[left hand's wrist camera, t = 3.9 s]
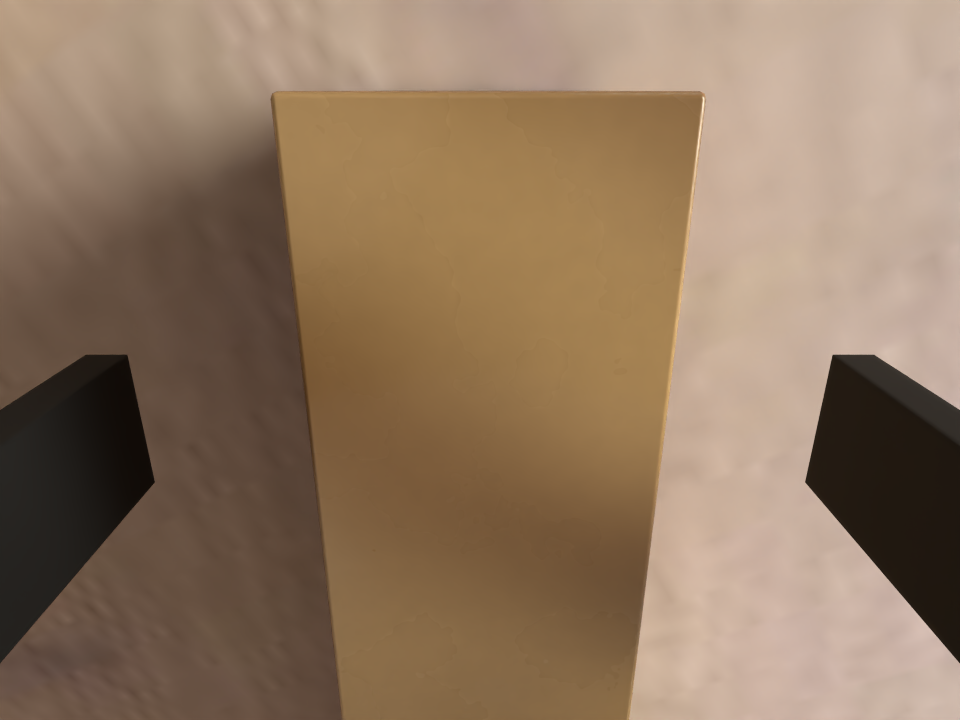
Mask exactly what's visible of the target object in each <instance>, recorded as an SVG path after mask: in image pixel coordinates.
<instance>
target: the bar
mask: <svg viewBox="0 0 960 720" xmlns="http://www.w3.org/2000/svg"><path fill="white" fill-rule="evenodd" d="M705 102H706V97H705V94H704V93H702V92H700V91H277V92H275V93H273V94H272V96H271V106H272V115H273V124H274V132H275V141H276V150H277V159H278V167H279V176H280V185H281V193H282V202H283V211H284V219H285V228H286V237H287V246H288V254H289V263H290V272H291V280H292V289H293V298H294V306H295V315H296V324H297V333H298V341H299V350H300V359H301V367H302V376H303V385H304V394H305V402H306V411H307V420H308V428H309V437H310V446H311V454H312V463H313V472H314V481H315V489H316V498H317V507H318V515H319V524H320V533H321V541H322V550H323V559H324V568H325V576H326V585H327V594H328V602H329V611H330V620H331V628H332V637H333V646H334V655H335V663H336V672H337V681H338V689H339V698H340V707H341V716H342V720H629V716H630V708H631V700H632V692H633V684H634V676H635V668H636V660H637V652H638V643H639V635H640V627H641V619H642V611H643V603H644V595H645V587H646V579H647V571H648V563H649V555H650V547H651V538H652V530H653V522H654V514H655V506H656V498H657V490H658V482H659V474H660V466H661V458H662V450H663V442H664V434H665V425H666V417H667V409H668V401H669V393H670V385H671V377H672V369H673V361H674V353H675V345H676V337H677V329H678V320H679V312H680V304H681V296H682V288H683V280H684V272H685V264H686V256H687V248H688V240H689V232H690V224H691V216H692V207H693V199H694V191H695V183H696V175H697V167H698V159H699V151H700V143H701V135H702V127H703V119H704V111H705Z"/></svg>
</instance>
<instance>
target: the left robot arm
mask: <svg viewBox="0 0 960 720" xmlns="http://www.w3.org/2000/svg"><path fill="white" fill-rule="evenodd" d="M154 483H155V481H154V476H153V472H152V467H151V462H150V458H149V453H148V448H147V444H146V439H145V435H144V430H143V425H142V421H141V416H140V411H139V407H138V402H137V398H136V393H135V388H134V384H133V379H132V374H131V370H130V365H129V361H128V356H127V355H85V356H84V357H82V358H80V359H79V360H77V361H76V362H74V363H73V364H71V365H70V366H68V367H66V368H65V369H63V370H62V371H60V372H59V373H57V374H56V375H54V376H52V377H51V378H49V379H48V380H46V381H45V382H43V383H42V384H40V385H38V386H37V387H35V388H34V389H32V390H31V391H29V392H28V393H26V394H24V395H23V396H21V397H20V398H18V399H17V400H15V401H14V402H12V403H10V404H9V405H7V406H6V407H4V408H3V409H1V410H0V663H1V662H2V660H3V659H4V658H5V657H6V656H7V655H8V653H9V652H10V651H11V650H12V649H13V648H14V646H15V645H16V644H17V643H18V642H19V641H20V639H21V638H22V637H23V636H24V635H25V634H26V632H27V631H28V630H29V629H30V628H31V627H32V625H33V624H34V623H35V622H36V621H37V620H38V618H39V617H40V616H41V615H42V614H43V612H44V611H45V610H46V609H47V608H48V607H49V605H50V604H51V603H52V602H53V601H54V600H55V598H56V597H57V596H58V595H59V594H60V593H61V591H62V590H63V589H64V588H65V587H66V586H67V584H68V583H69V582H70V581H71V580H72V579H73V577H74V576H75V575H76V574H77V573H78V571H79V570H80V569H81V568H82V567H83V566H84V564H85V563H86V562H87V561H88V560H89V559H90V557H91V556H92V555H93V554H94V553H95V552H96V550H97V549H98V548H99V547H100V546H101V545H102V543H103V542H104V541H105V540H106V539H107V538H108V536H109V535H110V534H111V533H112V532H113V531H114V529H115V528H116V527H117V526H118V525H119V523H120V522H121V521H122V520H123V519H124V518H125V516H126V515H127V514H128V513H129V512H130V511H131V509H132V508H133V507H134V506H135V505H136V504H137V502H138V501H139V500H140V499H141V498H142V497H143V495H144V494H145V493H146V492H147V491H148V490H149V488H150V487H151V486H152V485H153V484H154ZM805 483H806V484H807V485H808V486H809V487H810V488H811V490H812V491H813V492H814V493H815V494H816V495H817V497H818V498H819V499H820V500H821V501H822V502H823V504H824V505H825V506H826V507H827V508H828V509H829V511H830V512H831V513H832V514H833V515H834V516H835V518H836V519H837V520H838V521H839V522H840V523H841V525H842V526H843V527H844V528H845V529H846V531H847V532H848V533H849V534H850V535H851V536H852V538H853V539H854V540H855V541H856V542H857V543H858V545H859V546H860V547H861V548H862V549H863V550H864V552H865V553H866V554H867V555H868V556H869V557H870V559H871V560H872V561H873V562H874V563H875V564H876V566H877V567H878V568H879V569H880V570H881V571H882V573H883V574H884V575H885V576H886V577H887V579H888V580H889V581H890V582H891V583H892V584H893V586H894V587H895V588H896V589H897V590H898V591H899V593H900V594H901V595H902V596H903V597H904V598H905V600H906V601H907V602H908V603H909V604H910V605H911V607H912V608H913V609H914V610H915V611H916V612H917V614H918V615H919V616H920V617H921V618H922V620H923V621H924V622H925V623H926V624H927V625H928V627H929V628H930V629H931V630H932V631H933V632H934V634H935V635H936V636H937V637H938V638H939V639H940V641H941V642H942V643H943V644H944V645H945V646H946V648H947V649H948V650H949V651H950V652H951V653H952V655H953V656H954V657H955V658H956V659H957V660H958V662H959V663H960V410H959V409H957V408H956V407H954V406H953V405H951V404H950V403H948V402H946V401H945V400H943V399H942V398H940V397H939V396H937V395H936V394H934V393H932V392H931V391H929V390H928V389H926V388H925V387H923V386H922V385H920V384H918V383H917V382H915V381H914V380H912V379H911V378H909V377H908V376H906V375H904V374H903V373H901V372H900V371H898V370H897V369H895V368H894V367H892V366H890V365H889V364H887V363H886V362H884V361H883V360H881V359H880V358H878V357H876V356H875V355H833V356H832V361H831V365H830V370H829V374H828V379H827V384H826V388H825V393H824V398H823V402H822V407H821V411H820V416H819V421H818V425H817V430H816V435H815V439H814V444H813V448H812V453H811V458H810V462H809V467H808V472H807V476H806V481H805Z"/></svg>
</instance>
